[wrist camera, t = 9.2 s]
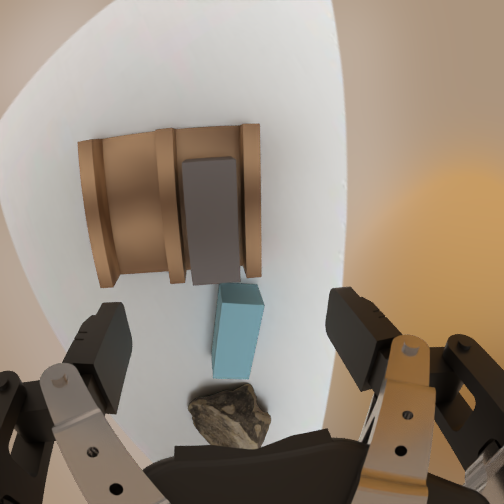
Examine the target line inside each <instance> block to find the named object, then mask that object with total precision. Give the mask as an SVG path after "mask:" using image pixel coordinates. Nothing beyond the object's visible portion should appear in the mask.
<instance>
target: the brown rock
mask: <svg viewBox="0 0 504 504" xmlns="http://www.w3.org/2000/svg"><path fill="white" fill-rule="evenodd" d="M256 399H257V397H256V395H255V393H254V390H253V388H252V386H251V385H250V384H245V385H243V386H241V387H239V388H237V389H235V390H234V391H229V390H225V391H221V392H219V393H217V394H214V395H211V396H207V397H198V398H196V399H195V400H194V401H192V402H191V403H190V405H189V407H188V411H189V412H190V413H191V414H192V415H193V417H192V420H193V424H194V426H195V427H196V429H197V430H198V431H199V433H200V434H201V435H202V436H203V437H204V438H205V439H206V441H207V442H208V443H209V444H210V445H217V446H224V447H232V448H241V449H258V448H260V447H261V445H262V443H263V441H264V439H265V436H266V434H267V431H268V429H269V425H270V423H271V416H270V415H269V414H268V412H266V413H264V412H263V411H261V410H260V408H259V407H258V405H257V400H256Z"/></svg>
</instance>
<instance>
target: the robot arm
mask: <svg viewBox="0 0 504 504" xmlns="http://www.w3.org/2000/svg"><path fill="white" fill-rule="evenodd" d="M325 326H326V332H327V335H328V337H329V339H330V341H331V342H332V344H333V346H334V347H335V349H336V351H337V352H338V354H339V356H340V357H341V359H342V361H343V362H344V364H345V366H346V368H347V369H348V371H349V372H350V374H351V376H352V378H353V379H354V381H355V383H356V384H357V386H358V388H359V390H360V391H361V392H362V391H366V390H369V389H373V391H374V394H373V397H372V400H371V404H370V407H369V411H368V414H367V417H366V420H365V424H364V426H363V430H362V433H361V436H360V438H359V440H358V441H355V440H351V439H345V438H331V436H330V433H329V431H328V429H322V430H318V431H313V432H308V433H303V434H298V435H293V436H290V437H287V438H285V439H282V440H280V441H277V442H274V443H272V444H269V445H266V446H264V447H261V448H258V449H241V448H232V447H224V446H217V445H202V446H175V449H174V456H173V457H169V458H166V459H163V460H160V461H158V462H155V463H153V464H151V465H149V466H148V467H146V468H145V469H143V470H142V469H141V468H140V467H139V466H138V464H137V463H136V462H135V460H134V459H133V458H132V456H131V455H130V454H129V452H128V451H127V450H126V448H125V447H124V446H123V444H122V443H121V441H120V440H119V438H118V437H117V435H116V434H115V433H114V431H113V429H112V428H111V426H110V425H109V423H108V422H107V420H106V418H105V413H107V414H117V409H118V405H119V400H120V396H121V392H122V388H123V383H124V379H125V375H126V371H127V367H128V364H129V360H130V356H131V352H132V337H131V332H130V329H129V325H128V321H127V317H126V313H125V309H124V305H123V304H122V303H121V302H109V303H102V305H101V307H100V309H99V310H98V312H97V314H96V315H92V316H90V317H89V318H88V319H87V320H86V321H85V322H83V324H82V325H81V327H80V329H79V331H78V333H77V335H76V336H75V338H74V339H75V340H73V342H72V344H71V346H70V348H69V350H68V352H67V354H66V356H65V358H64V360H63V362H62V363H58V364H55V365H52V366H51V367H49V368H47V369H46V370H45V371H44V372H43V374H42V376H41V377H40V380H38V381H31V382H24V383H22V382H21V380H20V378H19V376H18V375H17V374H16V373H15V372H13V371H3V372H0V504H42V501H43V494H44V488H45V482H46V476H47V472H48V466H49V462H50V457H51V453H52V448H53V444H54V441H57V444H58V446H59V448H60V450H61V453H62V455H63V457H64V459H65V461H66V463H67V465H68V467H69V469H70V471H71V473H72V475H73V477H74V479H75V481H76V483H77V485H78V487H79V488H80V490H81V492H82V494H83V495H84V497H85V499H86V501H87V502H88V504H504V370H503V369H502V368H501V367H500V366H499V365H498V364H497V363H496V362H495V361H494V360H493V359H492V358H491V356H489V354H487V352H486V351H485V350H484V349H483V348H482V347H481V346H480V345H479V344H478V343H477V342H476V341H475V340H474V339H472V338H470V337H468V336H466V335H462V334H455V335H452V336H450V337H449V338H448V341H447V343H446V346H445V347H429V346H428V344H427V343H426V342H425V341H424V340H422V339H420V338H419V337H416V336H413V335H402V334H401V333H400V332H399V330H398V329H397V328H396V327H395V326H394V325H393V324H392V323H391V322H390V321H389V319H388V318H387V317H385V315H384V314H383V313H382V312H381V311H379V309H378V308H377V307H376V306H375V305H374V303H372V302H371V301H369V300H367V299H365V298H363V297H359V295H358V294H357V293H356V292H355V291H354V290H353V289H352V288H351V287H341V288H332V289H331V291H330V294H329V301H328V308H327V315H326V322H325ZM463 384H465V385H466V387H467V388H468V389H469V391H470V392H471V393H472V394H473V396H474V397H475V401H476V405H475V409H474V411H472V409H471V408H470V406H469V405H468V404H467V402H466V401H465V400H464V398H463V397H462V396H461V395H460V393H459V390H460V389H461V387H462V385H463ZM434 420H435V422H436V423H437V425H438V426H439V428H440V430H441V431H442V433H443V434H444V436H445V438H446V439H447V441H448V443H449V444H450V446H451V447H452V449H453V451H454V453H455V454H456V456H457V458H458V460H459V461H460V463H461V465H462V467H463V468H464V470H465V472H466V473H465V483H464V484H463V486H462V485H459V484H456V483H454V482H451V481H448V480H446V479H443V478H441V477H438V476H435V475H433V474H431V473H428V466H429V460H430V453H431V445H432V437H433V427H434ZM13 429H15V430H16V431H17V436H16V439H15V442H14V445H13V448H12V452H11V455H10V453H9V448H8V446H9V441H10V438H11V435H12V432H13Z"/></svg>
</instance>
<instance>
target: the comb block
mask: <svg viewBox="0 0 504 504" xmlns="http://www.w3.org/2000/svg"><path fill="white" fill-rule="evenodd" d="M78 155H79V167H80V177H81V186H82V194H83V201H84V208H85V215H86V221H87V227H88V232H89V238H90V243H91V248H92V253H93V258H94V262H95V267H96V271H97V275H98V279H99V283H100V287H101V288H110V287H114V285H115V283H116V281H117V280H118V278H119V276H120V274H134V273H148V272H163V271H169V277H170V284H176V283H185V279H186V270H191V265H190V256H189V247H188V237H187V226H186V215H185V203H184V190H183V176H182V162H183V161H184V160H186V159H196V158H211V157H228V156H231V157H233V158H234V159H236V175H237V204H238V231H239V256H240V266H243V267H244V270H245V274H246V277H247V278H254V277H261V173H260V124H242V125H239V126H216V127H198V128H185V129H174V128H166V129H157V130H156V131H154V132H146V133H138V134H131V135H124V136H117V137H111V138H105V139H91V140H86V141H81V142H78Z"/></svg>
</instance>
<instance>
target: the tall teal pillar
mask: <svg viewBox="0 0 504 504" xmlns="http://www.w3.org/2000/svg"><path fill="white" fill-rule="evenodd" d="M264 306H265V305H264V302H263V300H262V297H261V294H260V291H259V288H258V285H257V284H243V283H220V284H219V292H218V301H217V309H216V318H215V326H214V335H213V345H212V369H213V378H216V379H249V376H250V371H251V367H252V362H253V357H254V353H255V348H256V344H257V339H258V334H259V330H260V325H261V320H262V315H263V310H264Z"/></svg>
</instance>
